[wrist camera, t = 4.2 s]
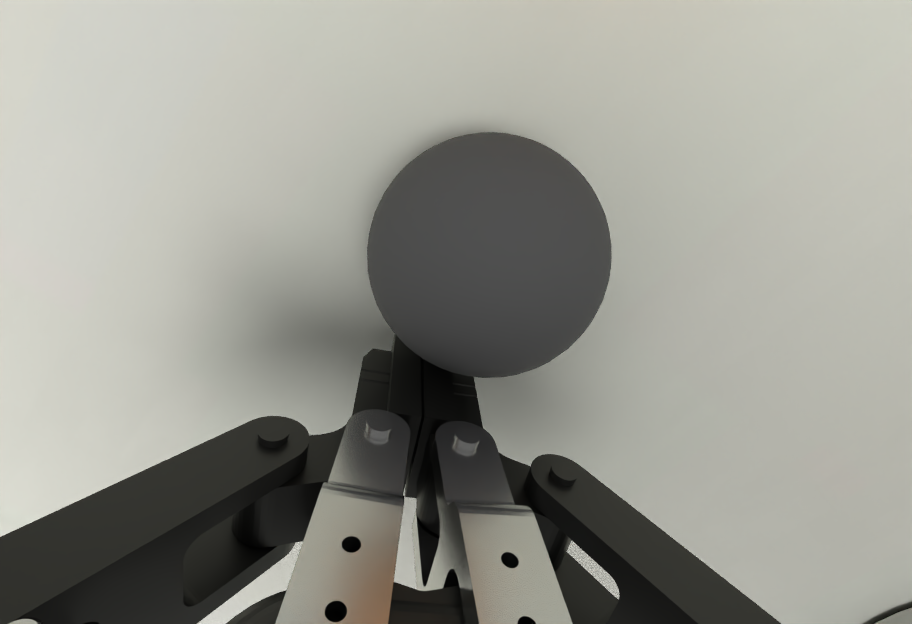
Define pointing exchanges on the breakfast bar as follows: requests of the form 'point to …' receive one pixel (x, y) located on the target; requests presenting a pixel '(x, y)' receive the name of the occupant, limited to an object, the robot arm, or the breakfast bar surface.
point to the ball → (489, 255)
